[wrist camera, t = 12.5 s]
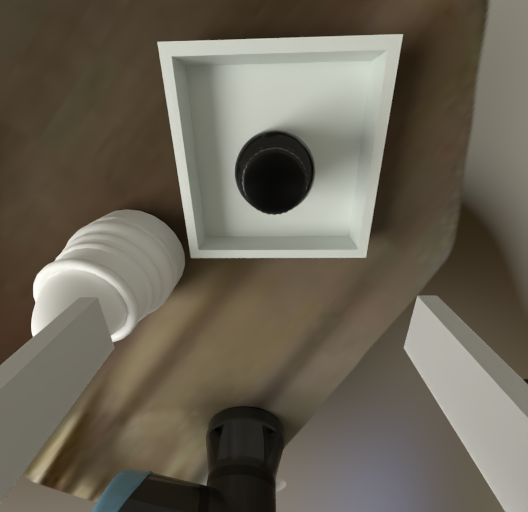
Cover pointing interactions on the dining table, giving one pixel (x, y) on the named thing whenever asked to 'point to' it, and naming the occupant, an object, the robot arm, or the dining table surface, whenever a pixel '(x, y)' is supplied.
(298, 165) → the supplement bottle
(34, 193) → the dining table surface
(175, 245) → the honey pot
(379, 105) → the tote
